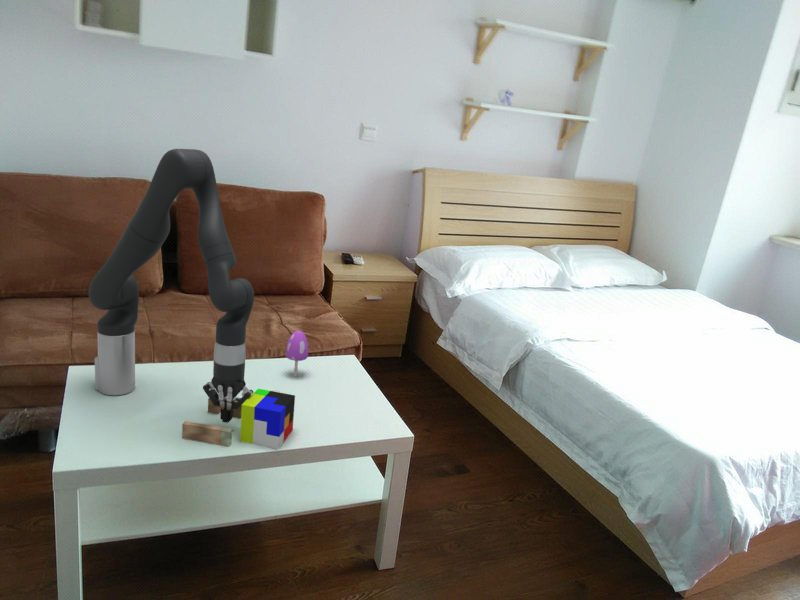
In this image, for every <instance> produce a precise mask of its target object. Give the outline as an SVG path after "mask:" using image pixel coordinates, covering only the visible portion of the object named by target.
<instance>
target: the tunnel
mask: <svg viewBox="0 0 800 600" xmlns="http://www.w3.org/2000/svg"><path fill="white" fill-rule="evenodd" d="M241 398H242V397H238V396H236V399H235V402H238V401H239V400H240V399H241ZM241 409H242V405H241V406H240V407H239V408H238V409H234V410H233V418H239V419H241ZM220 412H221V408H220V407H219V406H215V405H214V404H213V403H212V401H211V400H210V398H209V397H208V398H207V413H209V414H215V415H220ZM181 426H182V427H181V430H182V431H181V434H182V435H181V437H182V439H184V440H190V441H196V442H201V443H207V444H211V445H212V444H213V445H217V446H224V447H230V446H231V445H232V443H233V441H232V440H233V428H228V427H224V426H217V425H212V424H211V425H210V424H205V423H199V422H193V421H189V420H188V421H187V420H185V421H183V423H182V425H181Z"/></svg>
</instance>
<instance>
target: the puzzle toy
mask: <svg viewBox="0 0 800 600" xmlns="http://www.w3.org/2000/svg"><path fill="white" fill-rule="evenodd" d="M295 402H296V395H295V394H291V393H284V392H274V391H273V390H268V389H263V388H257V389H256V390H255V391H253V394H252V395H251V396H250V397H249V398H248V399H247V400H246V401H245V402H244V403H243V404H242V409H241V418H240V435H239V436H240V438H239V441H240V442H242V443H247V444H251V445H252V444H253V445H257V446H262V447H265V448H266V447H267V448H271V449H272V448H273V449H277V450H279V449H280V447H282V445H283V444H284V442H285V441H286V440H287V438H288V437H289V436H290V435H291V433H292V432H293V430H294V418H295V417H294V415H295Z"/></svg>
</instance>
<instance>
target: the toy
mask: <svg viewBox="0 0 800 600" xmlns="http://www.w3.org/2000/svg"><path fill="white" fill-rule="evenodd" d="M285 349H286V350H285V351H286V352H285V356H286V358H287V359H288V360H290V361H294V369H293V377H294V378H296V377H298V370H299V369H298V368H299V367H298V365H299V362H301V361H305V360H307V359H308V357H309V343H308V339H307V337H306V334H305V333H304V332H303V331H301V330H295V331H294V332H293V333H292V334H291V335H290V336H289V339H288V340H287V344H286V348H285Z"/></svg>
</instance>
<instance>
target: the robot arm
mask: <svg viewBox="0 0 800 600" xmlns="http://www.w3.org/2000/svg"><path fill="white" fill-rule="evenodd" d="M210 158H211V157H209V156H208V153H206V152H205V151H203V150H200V149H194V148H193V149H192V148H191V149H190V148H173V149H170V150H168V151H167V152H165V153H164V154H163V156H162V157H161V159H160V161H159V163H158V165H157V167H156V170H155V172H154V174H153V175H152V179H151V181H150V184H149V186H148V188H147V190H146V192H145V194H144V196H143V198H142V200H141V202H140V203H139V206H138V207H137V209H136V211H135V212H134V214H133V216H131V219H130V220H129V223H127V226H126V227H125V229H124V231H123V233H122V235H121V236H120V239H119V241H118V242H117V243H116V245H115V247H114V248H113V249H112V252H111V254H110V255H109V257H108V258H107V260H106V261H105V262H104V263H103V265H102V266H101V268H100V269H99V270H98V271H97V273H96V274H95V275H94V277H93V278H92V280H91V282H90V284H89V288H88V298H89V302H90V303H91V304H92V306H93V307H95V308H96V309H98V310H101V311H106V310H107V312H106V313H105V314H104V315H102V316H101V318H99V320H97V324H96V327H97V328H96V330H97V356H95V358H94V381H95V383H94V384H95V391H98V392H100V393H101V394H103V395H106V396H122V395H127V394H129V393H132V392H133V391H134V390H135V388H136V336H135V335H136V334H135V333H136V330H135V329H136V327H135V326H136V324H137V321H138V318H139V317H138V316H139V301H140V300H139V299H140V297H139V296H140V295H139V292H140V291H139V284H138V281H137V279H136V278H135V276H134V275H133V274H134V273H135V272H136V271H138V270H139V269H140V268H142V267H143V266H144V265H145V264H146V263H147V262H149V261H150V260H151V259H152V258H153V257H154V256H156V254H157V253H158V252H159V250H160V249H161V248H162V246H163V244H164V243H165V241H166V240H167V238H168V236H169V234H170V232H171V216H170V209H171V207H172V205H173V203H174V202H175V200H176V198H177V197H178V195H179V194H180V193H181V192H182V191H183V190H193V193H194V195H195V197H196V200H197V204H198V211H199V212H198V215H199V216H198V225H197V242H198V245H199V249H200V251H201V254H202V258H203V259H204V262H205V266H206V271H207V283H208V294H209V295H208V296H209V299H210V301H211V303H212V305H213V306H214V308H216V309H217V310H218V311H219V312H223V313H225V314H224V315H222V316H220V318H218V319H217V322H216V326H215V327H216V328H215V343H214V349H213V365H212V366H213V369H212V372H213V373H212V378H211V380H210V381H209V382H207V383H205V384H204V385H203V386H202V390H203V391H204V393H205V394H206V395H207V397H208V399H209V398H210V400H211V401H212V403H213V404H214V405H215V406H219V407H220V408H221V412H220V413H219V416H220V417H219V418H220V420H221V422H222V423H225V424H226V423H227V424H228V423H230V422H231V421H232V419H233V418H234V417H233V410H234V409H238V408H239V407H240V406H241V405H242V404H243V403H244V402H245V401H246V400H247V399H248V398H249V397H250V396H251V395H252V394H253V393H254V390H253V389H249V388H248V387H247V386H246V384H247V382H246V381H245V369H246V358H247V355H246V354H247V353H246V351H247V349H246V337H247V335H246V333H247V332H246V331H247V330H246V329H247V324H248V321H249V318H250V316H251V312H252V308H253V304H254V302H255V291H254V288H253V285H252V283H251V282H250V281H249V280H248V279H246V278H242V277H239V278H238V277H237V278H234V279H233V278H232V279H230V271H231V270H232V269H234V268H235V267H236V266H237V258H236V255H235V252H234V249H233V247H232V244H231V241H230V238H229V235H228V232H227V229H226V225H225V222H224V221H225V220H224V216H223V213H222V207H221V201H220V200H221V199H220V196H219V191H218V190H219V189H218V184H217V179H216V174H215V170H214V166H213V163H212V160H211V159H210ZM241 392H242V393H241ZM240 393H241V397H240V398H241V399H240V400H239V401H238V402H235V399H236V397H238V395H239V394H240Z"/></svg>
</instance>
